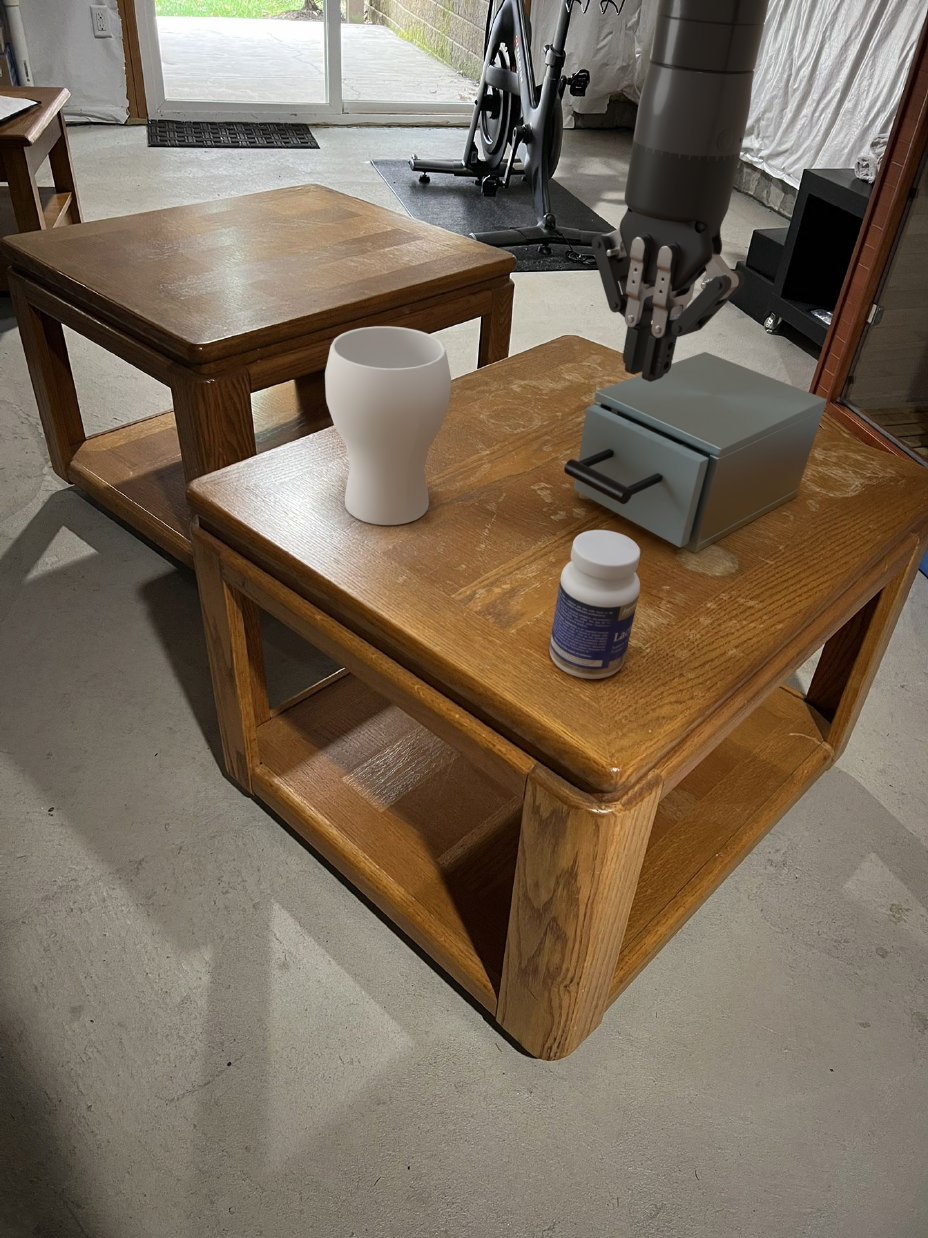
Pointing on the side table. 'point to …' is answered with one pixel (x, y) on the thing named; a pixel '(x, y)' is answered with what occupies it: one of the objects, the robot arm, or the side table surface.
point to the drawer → (640, 473)
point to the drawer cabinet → (728, 435)
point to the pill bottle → (596, 605)
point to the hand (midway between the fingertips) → (643, 373)
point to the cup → (387, 417)
